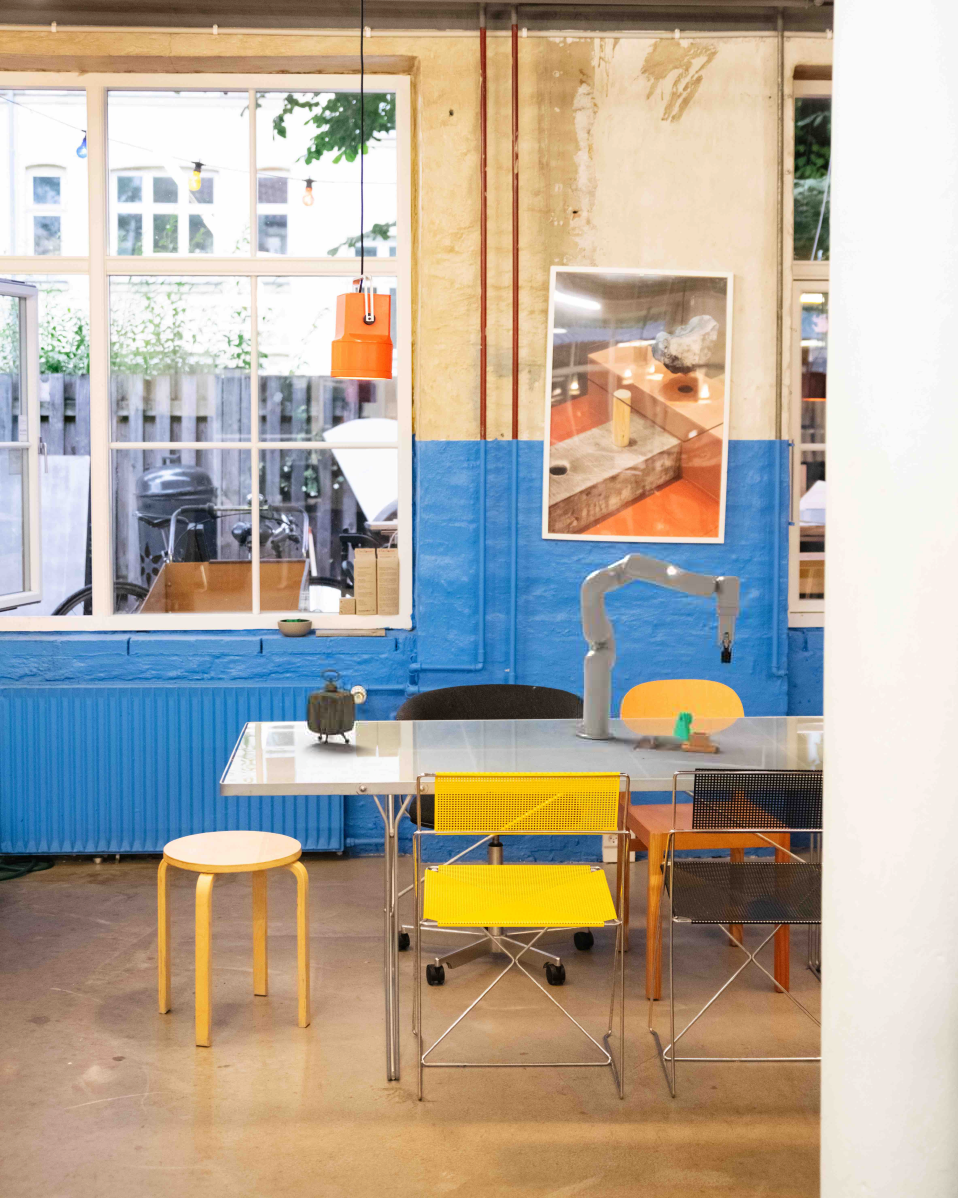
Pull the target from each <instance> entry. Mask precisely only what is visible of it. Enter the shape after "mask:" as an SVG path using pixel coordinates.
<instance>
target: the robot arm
mask: <svg viewBox="0 0 958 1198" xmlns="http://www.w3.org/2000/svg"><path fill="white" fill-rule="evenodd" d="M636 580H639V581H642V582H643V581H644V582H646V583H651V584H653V585H657V586H661V587H663V588H665V589H666V588H667V589H671V590H675V591H678V592H682V593H685V594H688V595H691V596H696V597H699V598H708V597H711V596H712V597H713V596H716V614H715V616H716V617H718V636H717V638H718V639H717V644H718V645H719V646H721V647H722V648H721V652H720V653H721V655H720V662H721V663H722V664H731V660H732V648H731V647H732V645H734V638H735V626H736V623H735V622H736V618H739V614H740V610H739V609H740V588H741V587H740V586H741V585H740V584H741V581H740V578H739V577H738V576H735V575H721V576H720V575H712V574H700V573H697V572H692V571H689V570H688V569H687V570H686V569H684V568H680V567H678V566H676V565H675V564H673V563H671V562H667V561H664V560H660V559H656V558H652V557H649V556H645V555H644V554H642V553H639V552H635V553H633V552H632V553H629V554H627V555H626V556H625V557H624V558H623V559H622V560H619V561H618V562H615V563H614V564H611V565H609V566H608V567H604V568H600V569H597V570H595V571H594V572H592V573H591V574H590V575H588V576H587V577H586V578H585V579H584V581H583V583H582V586H581V588H580V595H579V596H580V609H581V622H582V633H583V637H584V639H585V641H586V642H587V643H588V650H589V651H588V652H587V653H586V655H585V657H584V660H583V685H584V686H583V710H582V711H583V718H582V722H580V723H570V729H571V730H578V737H581V738H584V739H588V740H589V739H590V740H608V739H613V738H614V737H615V735H614V732H612V731H610V730H611V729H610V727H611V726H610V725H611V723H610V722H611V700H612V699H611V694H612V678H611V677H612V674H611V673H612V672H611V671H612V669H613V668H614V667H615V664H616V661H617V654H616V653H617V652H616V643H615V633H614V628H613V623H612V622H611V621H610V619H608V618H607V616H606V614H607V613H606V604H605V594H606V593H609V592H613V591H615V590H617V589H620V588H621V587H623V586H625V585H627V584H629V583H631V582H633V581H636Z"/></svg>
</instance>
